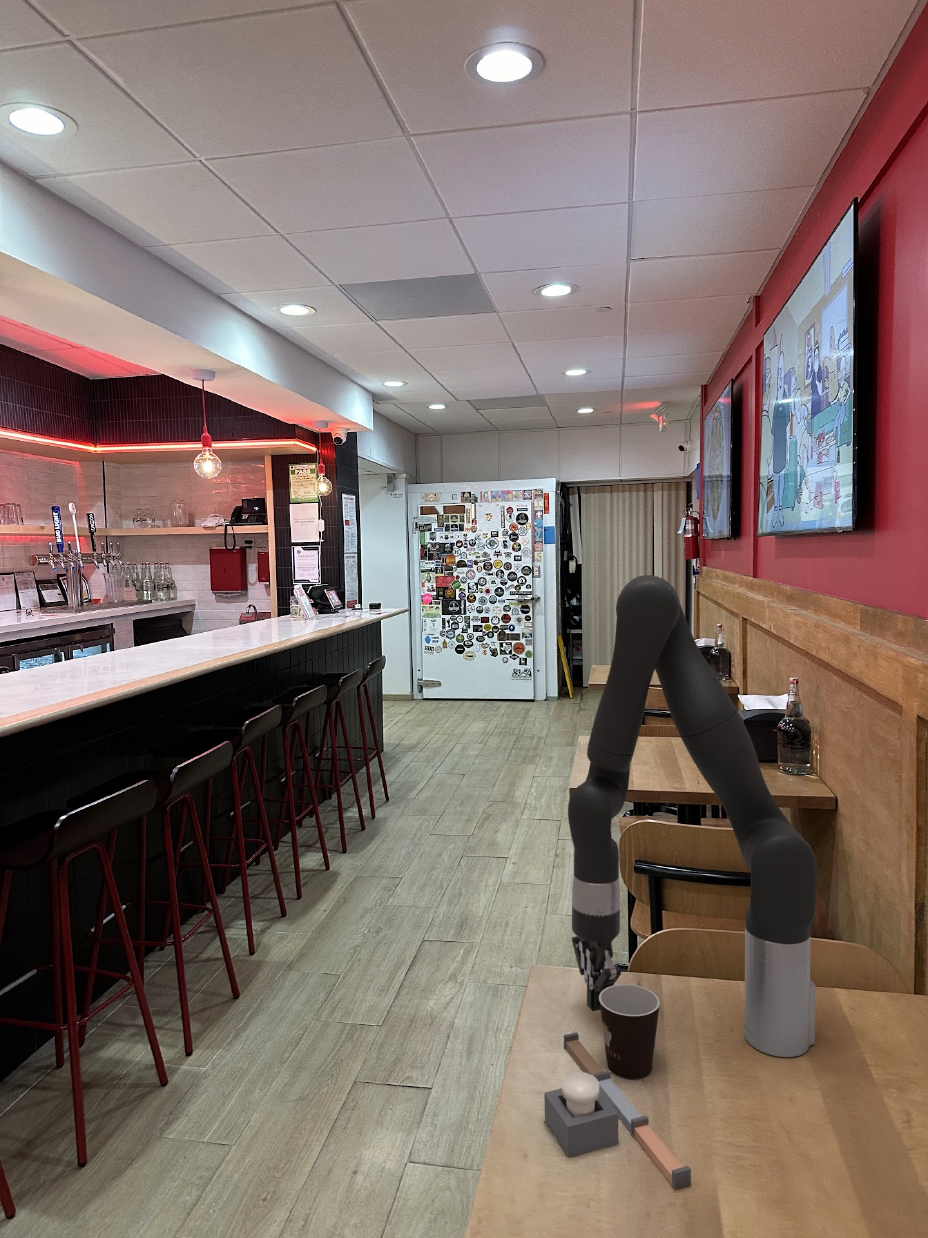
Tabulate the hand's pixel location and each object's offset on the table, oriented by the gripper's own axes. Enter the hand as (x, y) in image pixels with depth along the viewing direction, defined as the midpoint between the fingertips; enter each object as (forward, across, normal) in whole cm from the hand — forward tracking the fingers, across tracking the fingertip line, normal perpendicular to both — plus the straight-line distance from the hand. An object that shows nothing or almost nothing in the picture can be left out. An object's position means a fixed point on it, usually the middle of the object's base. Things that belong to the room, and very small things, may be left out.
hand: (594, 1008), depth 132 cm
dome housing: (+2, -22, +13) cm, 26 cm away
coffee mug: (+2, -11, 0) cm, 11 cm away
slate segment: (+2, -20, +6) cm, 21 cm away
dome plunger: (+1, -22, +13) cm, 26 cm away
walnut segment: (+2, -10, +7) cm, 12 cm away
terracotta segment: (+2, -30, +6) cm, 31 cm away
